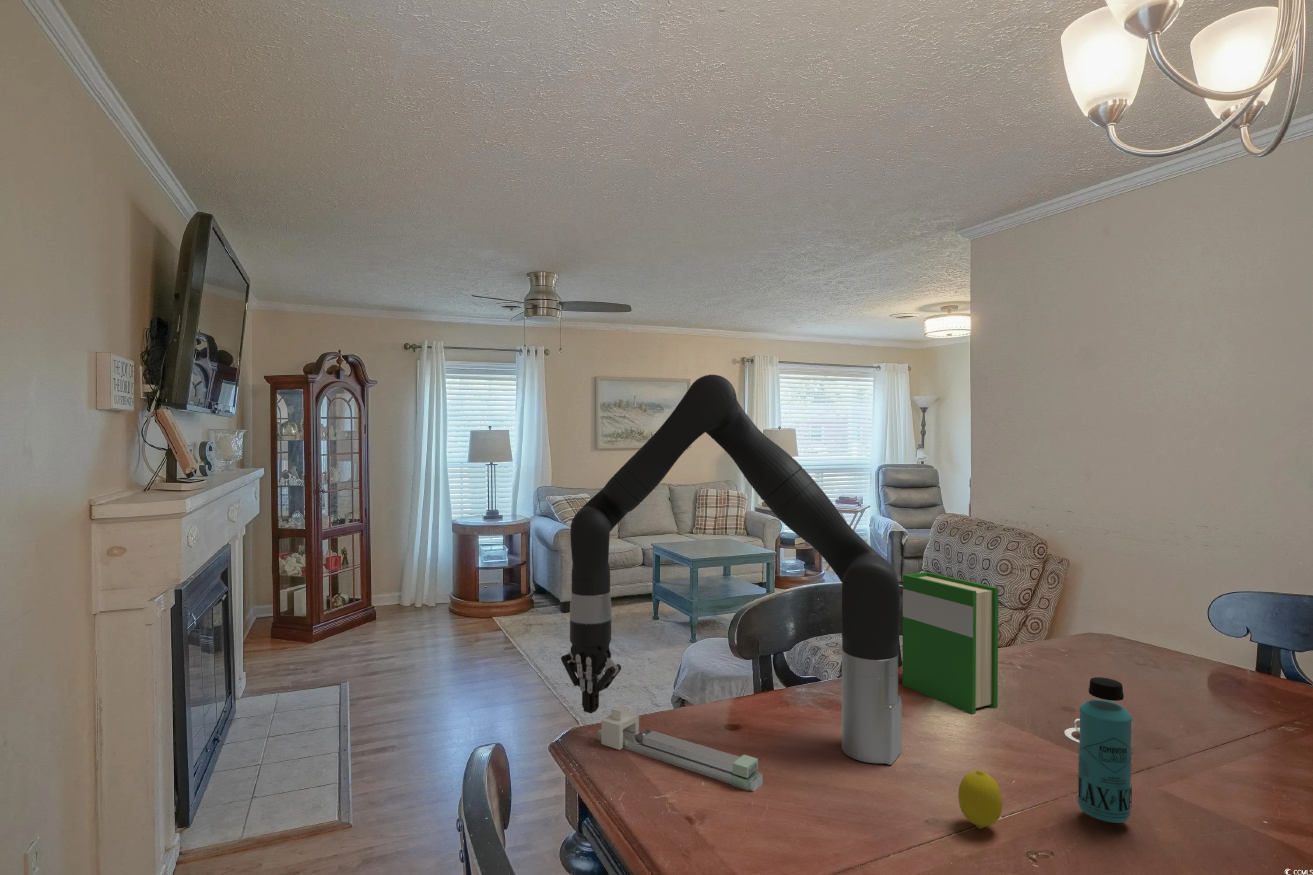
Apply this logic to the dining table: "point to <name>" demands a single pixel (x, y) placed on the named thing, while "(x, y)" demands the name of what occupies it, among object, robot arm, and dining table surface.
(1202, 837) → the dining table surface
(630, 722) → the lock slider
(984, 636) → the hardback book
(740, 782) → the base
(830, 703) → the dining table surface
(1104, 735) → the beverage bottle
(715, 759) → the bar
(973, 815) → the lemon
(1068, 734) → the teacup and saucer
